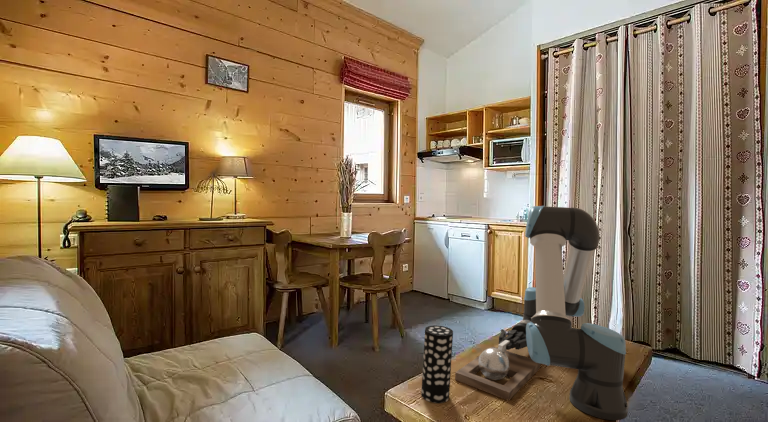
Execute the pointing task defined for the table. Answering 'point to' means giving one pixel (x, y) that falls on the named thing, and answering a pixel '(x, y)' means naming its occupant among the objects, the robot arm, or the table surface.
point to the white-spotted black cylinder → (437, 364)
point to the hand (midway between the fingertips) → (500, 349)
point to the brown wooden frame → (518, 372)
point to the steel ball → (494, 363)
